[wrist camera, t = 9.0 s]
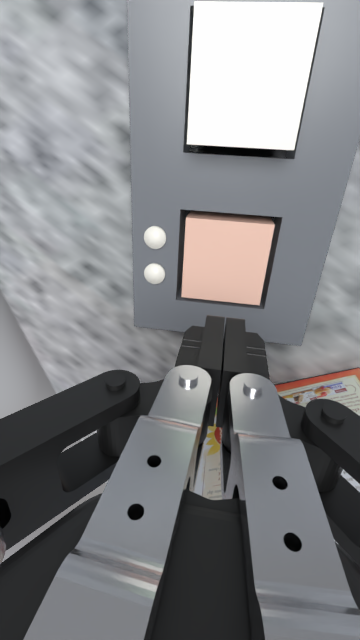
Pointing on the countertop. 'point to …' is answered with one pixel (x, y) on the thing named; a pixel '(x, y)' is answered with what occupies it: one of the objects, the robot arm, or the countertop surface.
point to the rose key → (226, 256)
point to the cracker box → (344, 387)
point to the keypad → (236, 172)
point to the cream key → (250, 72)
